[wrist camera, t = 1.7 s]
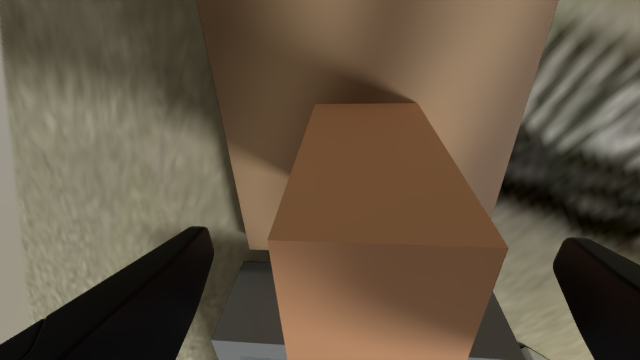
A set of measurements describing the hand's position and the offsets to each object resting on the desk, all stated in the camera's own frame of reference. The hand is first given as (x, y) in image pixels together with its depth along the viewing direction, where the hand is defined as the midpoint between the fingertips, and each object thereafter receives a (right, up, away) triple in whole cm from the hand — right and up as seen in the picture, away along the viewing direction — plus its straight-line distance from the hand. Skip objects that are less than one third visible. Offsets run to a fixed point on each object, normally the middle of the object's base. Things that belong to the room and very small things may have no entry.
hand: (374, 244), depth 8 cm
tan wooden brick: (0, +3, +5) cm, 6 cm away
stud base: (+1, +3, +6) cm, 7 cm away
